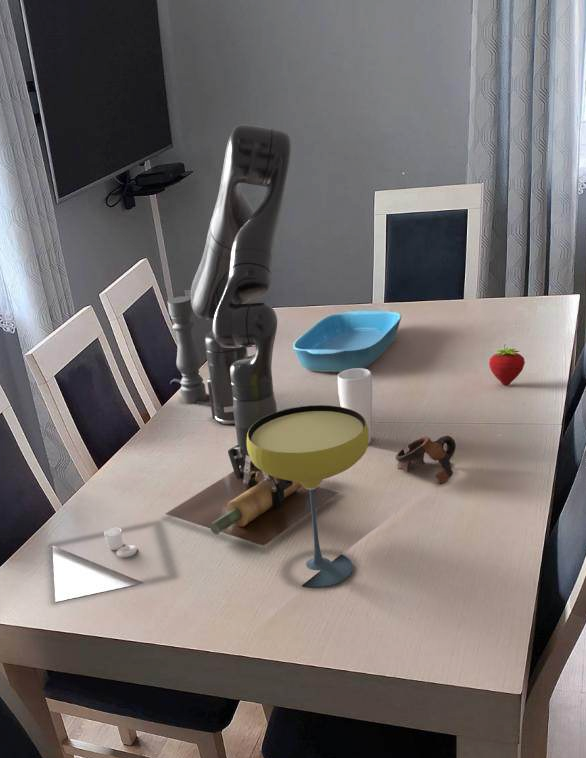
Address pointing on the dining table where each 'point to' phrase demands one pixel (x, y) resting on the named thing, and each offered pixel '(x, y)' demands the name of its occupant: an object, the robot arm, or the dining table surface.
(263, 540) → the pastry board
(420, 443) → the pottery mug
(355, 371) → the drinking glass
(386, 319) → the casserole dish
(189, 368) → the candle holder
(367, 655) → the dining table surface
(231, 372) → the robot arm
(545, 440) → the dining table surface
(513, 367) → the strawberry
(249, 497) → the rolling pin
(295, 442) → the cocktail glass
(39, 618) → the dining table surface
